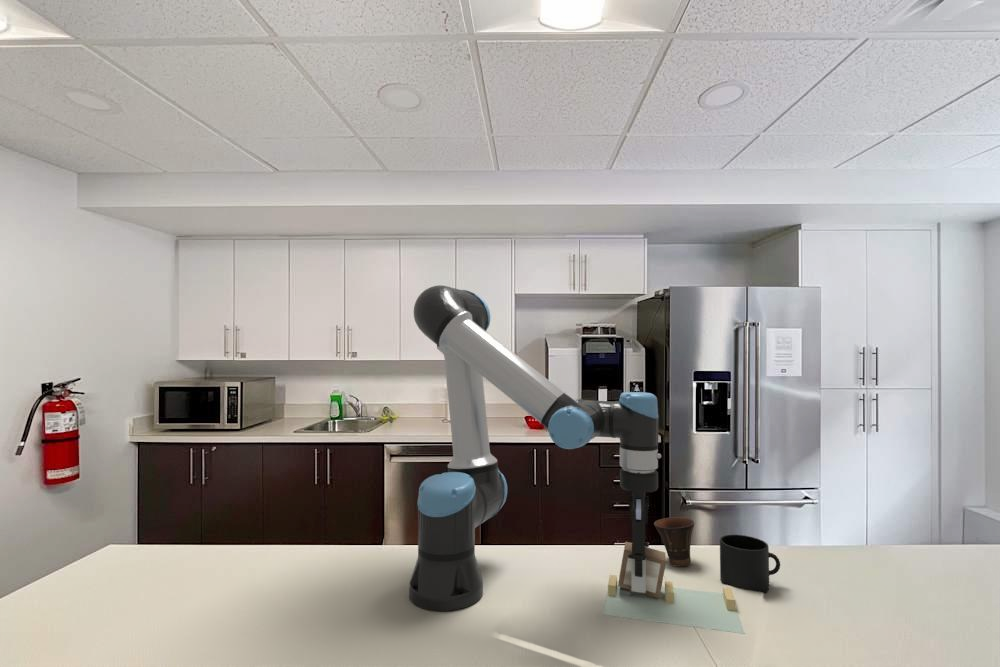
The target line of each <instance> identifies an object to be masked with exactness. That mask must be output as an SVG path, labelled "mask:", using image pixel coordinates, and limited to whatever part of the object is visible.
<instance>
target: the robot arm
mask: <svg viewBox="0 0 1000 667" xmlns="http://www.w3.org/2000/svg"><path fill="white" fill-rule="evenodd" d="M413 306H414V307H413V318H414V322H415V324H416V326H417V327H418V329H419V331H421V332H422V333H423V334H424V336H426V337H427V338H428V339H429V340H430V341H431V342H432V343H434V344H435V345H436V349H437V350H438V351H439V352H441V353H442V355H443V356H444V357H443V358H444V366H445V367H444V368H445V378H446V379H445V380H446V390H447V400H448V409H449V410H448V412H449V420H450V421H449V422H450V433H451V443H452V456H453V458H451V460H450V461H449V463H448V464H447V472H442V473H441V474H439V473H438V474H433V475H430V476H429V477H427V478H426V479H424V480H423V481H422V482H421V483H420V486H419V488H418V497H417V504H416V505H417V517H418V518H417V533H418V534H417V559H416V561H415V565H414V568H413V572H412V575H411V578H410V581H409V585H408V586H409V588H408V589H409V591H408V597H409V600H410V601H411V602H412V604H414V605H415V606H417V607H419V608H422V609H425V610H428V611H439V612H442V611H443V612H445V611H447V612H448V611H449V612H450V611H455V610H460V609H464V608H467V607H470V606H472V605H474V604H475V603H477V602H479V600H480V599H481V598H482V597H483V594H484V580H483V576H482V574H481V571H480V570H481V569H480V567H479V563H478V561H477V558H476V553H475V552H476V551H475V550H476V549H475V543H476V541H475V540H476V539H475V536H476V535H475V534H476V532H475V531H476V530H475V529H476V528H477V527H479V526H480V525H481V524H483V523H485V522H486V521H488V520H490V519H491V518H493V517H494V516H495V515H497V514H498V512H500V510H501V509H502V507H503V506H504V505H505V503H506V501H507V497H508V484H507V480H506V478H505V476H504V474H503V473H502V472H501V471H500V469H499V464H498V462H499V461H498V459H497V458H496V457H495V456H494V455H493V454H492V453H491V450H490V449H491V448H490V439H489V438H490V436H489V428H488V427H489V426H488V417H487V409H486V407H487V406H486V400H485V399H486V398H485V388H484V387H485V386H484V378H485V379H486V381H488V382H489V383H491V384H492V385H493V386H494V387H496V388H497V389H498V390H499V391H500V392H501V393H503V394H504V395H505V396H506V397H508V398H509V399H511V401H512V402H514V403H515V404H516V405H518V406H519V407H520V408H522V409H523V410H524V411H525V412H526V413H528V415H530V416H531V417H532V418H533V419H535V420H536V421H537V422H539V424H541V425H542V426H543V427H544V428H545V429H547V430H548V434H549V437H550V439H551V440H552V442H553V443H555V445H556V446H558V447H559V448H562V449H565V450H574V449H575V450H576V449H578V448H581V447H584V446H585V445H586V444H588V443H590V441H591V440H593V439H594V438H596V437H597V438H612V439H619V466H620V467H621V468H620V469H619V486H620V487H621V489H623V490H625V491H630V492H632V495H628V508H629V521H630V522H631V543H632V554H631V555H628V558H630V559H632V562H631V591H634V592H641V593H646V556H645V547H648V548H650V547H649V546H650V545H649V544H650V543H649V541H646V539H647V538H646V537H647V536H646V524H647V523H648V521H649V520H648V519H649V518H648V517H649V516H648V514H649V513H648V510H649V509H650V497H649V496H646V493H653V492H656V491H657V490H658V489H659V472H658V471H657V469H659V459H661V458H662V454H661V453H658V452H659V407H658V404H659V403H658V398H657V396H656V395H655V394H653V393H651V392H641V391H640V392H639V391H636V392H635V391H633V392H632V391H627V392H626V391H624V392H621V393H620V396H619V399H618V400H614V401H606V400H593V399H592V400H591V399H583V398H578V399H574V398H572V397H571V396H569V395H567V393H566V392H565V391H563V390H562V389H561V388H559V387H558V386H557V385H555V384H554V383H553V382H552V381H551V380H549V379H547V377H545V376H544V375H543V374H541V373H540V372H539V371H538V370H536V369H535V368H534V367H532V365H530V364H528V363H527V362H526V361H525V360H523V359H522V358H521V357H520V356H518V355H517V354H516V353H514V351H512V350H511V349H510V348H508V347H507V346H506V345H504V344H503V343H502V342H500V341H499V340H498V339H497V338H496V337H494V336H493V335H492V334H490V333H489V332H488V331H487V330H488V329H489V327H490V323H491V313H490V312H491V311H490V308H489V306H488V304H487V303H486V301H485V300H484V299H483V298H482V297H481V296H480V295H478V294H476V293H474V292H472V291H470V290H467V289H466V290H465V289H459V288H453V287H451V286H447V285H440V284H439V285H434V286H430V287H428V288H425V290H423V291H422V292H421V293H420V294H419V295H418V297H417V298H416V301H415V303H414V305H413ZM483 377H484V378H483Z"/></svg>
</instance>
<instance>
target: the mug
mask: <svg viewBox="0 0 1000 667" xmlns="http://www.w3.org/2000/svg"><path fill="white" fill-rule="evenodd" d="M769 558H771V559H774V560H773V561H775V567H774V568H773V569H771V570H770V560H769ZM780 568H781V562H780V559H779V558H778V556H777V555H776V554H775V553H772V552H769V545H768V543H767V542H766V541H764V540H761V539H759V538H757V537H753V536H749V535H745V534H726V535H723V536H721V537H720V538H719V572H720V574H719V576H720V582H721V584H722V585H726V586H729V587H733V588H736V589H738V590H739V589H740V590H744V591H751V592H752V591H754V592H758V593H763V594H766V593H768V591H769V590H770V576H773V575H775V574H777V573H778V572H779V570H780Z"/></svg>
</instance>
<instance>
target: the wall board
mask: <svg viewBox="0 0 1000 667" xmlns="http://www.w3.org/2000/svg"><path fill="white" fill-rule="evenodd" d="M618 583H619V580H618V575H616V574H615V575H614V574H609V578H608V582H607V591H606V597H605V598H606V599H605V604H604V611H603V616H609V617H617V618H626V619H630V620H631V619H632V620H640V621H647V622H654V623H662V624H668V625H669V624H670V625H676V626H677V625H678V626H683V627H689V628H691V627H692V628H699V629H705V630H713V631H720V632H728V633H735V634H743V635H745V634H746V633H745V629H744V627H743V624H742V622H741V619H740V615H739V613H738V610H737V606H736V598H735V595H734V592H733V590H732V588H730V587H729V588H728V587H722V593H721V592H713V591H705V590H695V589H687V588H678V587H674V584H673V581H668V580H667V581H666V580H665V581H664V586H663V585H662V587H661V592H660V598H656V597H653V596H649V595H646V594H643V593H639V592H634V591H631V590H629V589H626V588H623V587H619V586H618Z"/></svg>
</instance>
